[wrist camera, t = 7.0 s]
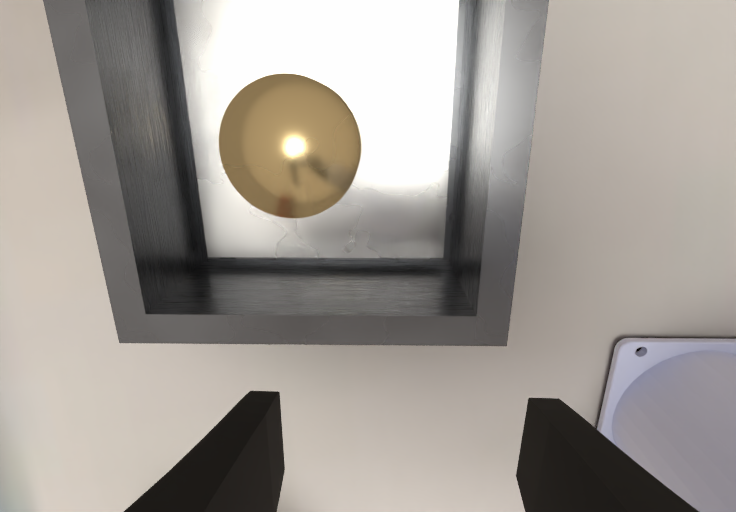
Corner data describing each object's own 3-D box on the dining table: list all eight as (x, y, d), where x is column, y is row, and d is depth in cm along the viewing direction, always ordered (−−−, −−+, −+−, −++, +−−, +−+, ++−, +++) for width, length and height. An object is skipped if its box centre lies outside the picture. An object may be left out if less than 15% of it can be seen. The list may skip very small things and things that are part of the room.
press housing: (492, -48, 15) (566, -147, 9) (466, 273, 19) (506, 345, 13) (150, -45, 15) (12, -140, 9) (196, 272, 19) (119, 342, 13)
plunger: (456, -11, 14) (517, -101, 8) (440, 253, 17) (476, 331, 11) (179, -10, 14) (36, -96, 8) (213, 252, 17) (126, 328, 11)
